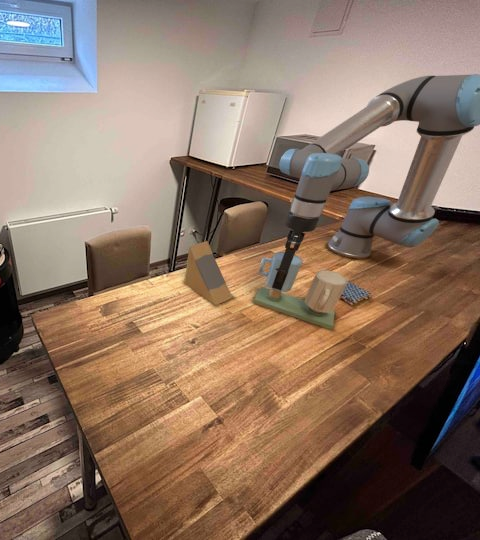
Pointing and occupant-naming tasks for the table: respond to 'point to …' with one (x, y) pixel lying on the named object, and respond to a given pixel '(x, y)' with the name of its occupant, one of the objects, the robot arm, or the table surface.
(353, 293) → the woven mat
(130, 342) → the table surface
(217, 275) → the sandwich container
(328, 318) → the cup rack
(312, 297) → the cream cup
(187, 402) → the table surface
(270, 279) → the blue cup
